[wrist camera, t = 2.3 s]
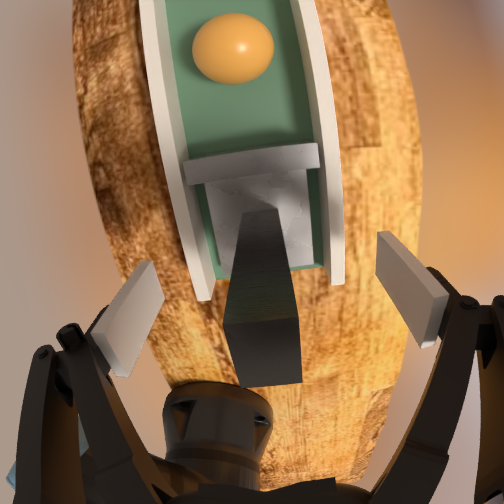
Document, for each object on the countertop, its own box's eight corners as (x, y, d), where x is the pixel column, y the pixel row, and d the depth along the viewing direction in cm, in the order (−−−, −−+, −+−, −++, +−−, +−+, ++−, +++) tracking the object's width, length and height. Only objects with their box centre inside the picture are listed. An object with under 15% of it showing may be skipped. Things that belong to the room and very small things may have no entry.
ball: (262, 96, 18) (263, 87, 13) (193, 82, 17) (173, 70, 13) (280, 35, 16) (286, 10, 11) (211, 22, 15) (197, -4, 11)
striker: (317, 257, 23) (364, 388, 11) (219, 269, 23) (186, 405, 11) (307, 139, 19) (383, 167, 7) (195, 155, 19) (104, 208, 8)
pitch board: (331, 256, 24) (344, 283, 20) (207, 272, 25) (197, 301, 21) (269, -95, 9) (270, -120, 5) (152, -74, 10) (137, -95, 6)
